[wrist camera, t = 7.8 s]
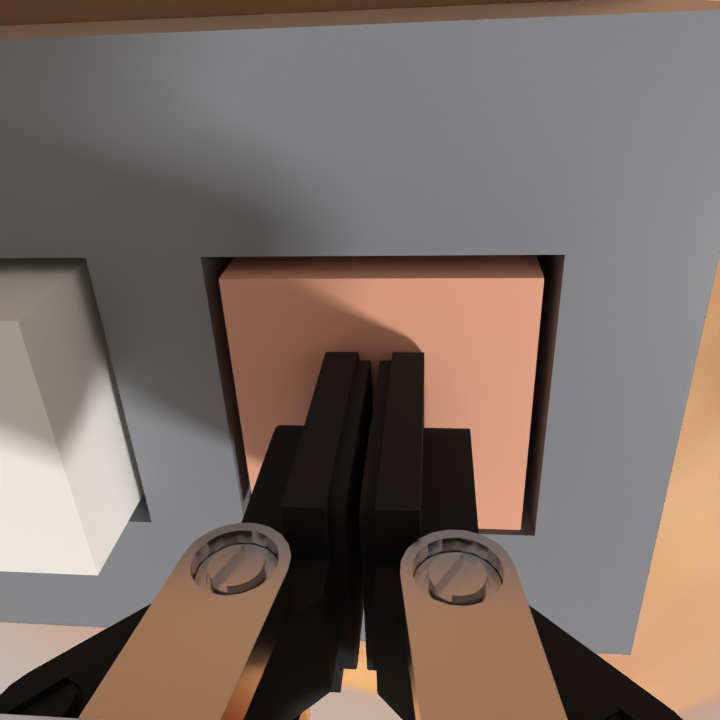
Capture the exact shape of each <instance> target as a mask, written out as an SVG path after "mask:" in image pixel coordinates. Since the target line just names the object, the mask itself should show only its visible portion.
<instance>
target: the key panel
mask: <svg viewBox="0 0 720 720" xmlns="http://www.w3.org/2000/svg"><path fill="white" fill-rule="evenodd" d="M432 255H536V256H537V259H538V262H539V264H540V267H541V270H542V273H543V276H544V287H543V298H542V308H541V319H540V329H539V340H538V351H537V361H536V372H535V383H534V393H533V404H532V415H531V425H530V436H529V447H528V457H527V468H526V479H525V489H524V500H523V511H522V521H521V530H506V529H478V531H479V534H481V535H483V536H485V537H487V538H489V539H491V540H493V541H495V542H497V543H498V544H499V545H500V546H501V547H502V548H503V549H504V550H505V551H506V552H508V554H509V556H510V557H511V559H512V561H513V563H514V565H515V567H516V570H517V573H518V576H519V579H520V581H521V584H522V587H523V590H524V593H525V596H526V599H527V602H528V605H530V606H531V607H533V608H534V609H535V610H537V611H538V612H539V613H541V614H542V615H543V616H545V617H546V618H548V619H549V620H550V621H552V622H553V623H554V624H556V625H557V626H558V627H560V628H561V629H563V630H564V631H565V632H567V633H568V634H569V635H571V636H572V637H573V638H575V639H576V640H577V641H579V642H580V643H582V644H583V645H584V646H586V647H587V648H588V649H590V650H591V651H592V652H594V653H602V654H621V655H631V650H632V646H633V641H634V637H635V632H636V628H637V623H638V619H639V614H640V610H641V605H642V601H643V596H644V592H645V587H646V583H647V578H648V574H649V569H650V565H651V560H652V556H653V551H654V547H655V542H656V538H657V533H658V529H659V524H660V520H661V515H662V511H663V507H664V502H665V498H666V493H667V489H668V484H669V480H670V475H671V471H672V466H673V462H674V457H675V453H676V448H677V444H678V439H679V435H680V430H681V426H682V421H683V417H684V412H685V408H686V403H687V399H688V394H689V390H690V385H691V381H692V376H693V372H694V367H695V363H696V358H697V354H698V349H699V345H700V340H701V336H702V331H703V327H704V323H705V318H706V314H707V309H708V305H709V300H710V296H711V291H712V287H713V282H714V278H715V273H716V269H717V264H718V260H719V255H720V2H718V1H708V0H574V1H551V2H528V3H505V4H482V5H460V6H437V7H414V8H391V9H368V10H346V11H323V12H300V13H277V14H254V15H231V16H209V17H186V18H163V19H140V20H117V21H94V22H72V23H49V24H26V25H3V26H0V258H86V262H87V266H88V270H89V273H90V277H91V281H92V285H93V289H94V293H95V297H96V301H97V305H98V309H99V313H100V317H101V321H102V325H103V329H104V333H105V337H106V341H107V345H108V349H109V353H110V357H111V361H112V365H113V369H114V373H115V377H116V381H117V385H118V389H119V393H120V397H121V401H122V405H123V409H124V413H125V417H126V421H127V425H128V429H129V433H130V437H131V441H132V445H133V449H134V453H135V457H136V461H137V465H138V469H139V473H140V477H141V481H142V485H143V489H144V494H143V496H142V498H141V499H140V501H139V503H138V505H137V507H136V508H135V510H134V512H133V514H132V515H131V517H130V519H129V521H128V523H127V524H126V526H125V528H124V530H123V531H122V533H121V535H120V537H119V539H118V540H117V542H116V544H115V546H114V548H113V549H112V551H111V553H110V555H109V556H108V558H107V560H106V562H105V564H104V565H103V567H102V569H101V571H100V573H99V574H98V576H97V575H75V574H52V573H29V572H6V571H0V622H8V623H9V622H10V623H27V624H46V625H65V626H84V627H104V628H108V627H110V626H112V625H114V624H116V623H117V622H119V621H121V620H123V619H124V618H126V617H128V616H130V615H132V614H133V613H135V612H137V611H139V610H140V609H142V608H144V607H146V606H147V605H149V604H151V603H152V602H153V601H154V599H155V598H156V596H157V594H158V593H159V591H160V590H161V588H162V587H163V585H164V584H165V582H166V580H167V579H168V577H169V576H170V574H171V573H172V571H173V569H174V568H175V566H176V565H177V563H178V562H179V560H180V559H181V557H182V555H183V554H184V552H185V551H186V550H187V549H188V548H189V547H190V546H191V544H192V543H193V542H194V541H195V540H197V539H198V538H200V537H201V536H203V535H204V534H206V533H207V532H209V531H212V530H214V529H217V528H219V527H221V526H225V525H230V524H235V523H241V522H242V520H243V517H244V514H245V511H246V508H247V505H248V503H249V500H250V497H251V487H250V480H249V474H248V467H247V461H246V454H245V448H244V441H243V435H242V428H241V422H240V415H239V409H238V402H237V396H236V389H235V383H234V376H233V370H232V363H231V356H230V350H229V343H228V337H227V330H226V324H225V317H224V311H223V304H222V298H221V291H220V285H219V278H220V276H221V275H222V274H223V272H224V271H225V269H226V268H227V266H228V265H229V264H230V262H231V261H232V259H233V258H234V257H275V256H432ZM360 641H366V637H365V619H364V610H363V619H362V628H361V637H360Z"/></svg>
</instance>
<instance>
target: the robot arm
mask: <svg viewBox="0 0 720 720" xmlns="http://www.w3.org/2000/svg"><path fill="white" fill-rule="evenodd" d="M363 610H364V619H365V637H366V655H367V669H368V670H377V691H378V695H379V696H380V697H381V698H382V699H383V700H385V702H386V703H387V704H388V705H389V706H390V707H391V708H392V709H393V710H394V711H395V712H396V713H397V714H398V715H399V716H400V717H401V718H402V719H403V720H683V719H682V718H680V717H679V716H678V715H677V714H676V713H675V712H674V711H673V710H671V709H670V708H669V707H667V706H666V705H665V704H663V703H662V702H661V701H659V700H658V699H656V698H655V697H654V696H652V695H651V694H650V693H648V692H647V691H646V690H644V689H643V688H641V687H640V686H639V685H637V684H636V683H635V682H633V681H632V680H631V679H629V678H628V677H627V676H625V675H624V674H622V673H621V672H620V671H618V670H617V669H616V668H614V667H613V666H612V665H610V664H609V663H607V662H606V661H605V660H603V659H602V658H601V657H599V656H598V655H597V654H595V653H594V652H592V651H591V650H590V649H588V648H587V647H586V646H584V645H583V644H582V643H580V642H579V641H577V640H576V639H575V638H573V637H572V636H571V635H569V634H568V633H567V632H565V631H564V630H563V629H561V628H560V627H558V626H557V625H556V624H554V623H553V622H552V621H550V620H549V619H548V618H546V617H545V616H543V615H542V614H541V613H539V612H538V611H537V610H535V609H534V608H533V607H531V606H530V605H528V602H527V599H526V596H525V593H524V590H523V587H522V584H521V581H520V579H519V576H518V573H517V570H516V567H515V565H514V563H513V561H512V559H511V557H510V556H509V554H508V552H506V551H505V550H504V549H503V548H502V547H501V546H500V545H499V544H498V543H497V542H495V541H493V540H491V539H489V538H487V537H485V536H483V535H481V534H479V531H478V519H477V506H476V494H475V481H474V469H473V456H472V444H471V432H470V428H424V352H393V353H392V361H383V360H380V363H379V370H378V377H377V384H376V391H375V398H374V405H373V400H372V374H371V361H370V360H359V353H358V352H326V353H325V356H324V359H323V363H322V366H321V369H320V373H319V376H318V380H317V383H316V387H315V390H314V393H313V397H312V400H311V404H310V407H309V411H308V414H307V417H306V421H305V424H304V425H278V426H276V428H275V430H274V432H273V435H272V438H271V441H270V443H269V446H268V449H267V452H266V455H265V458H264V460H263V463H262V466H261V469H260V472H259V474H258V477H257V480H256V483H255V486H254V489H253V491H252V494H251V497H250V500H249V503H248V505H247V508H246V511H245V514H244V517H243V520H242V522H241V523H235V524H230V525H225V526H221V527H219V528H217V529H214V530H212V531H209V532H207V533H206V534H204V535H203V536H201V537H200V538H198V539H197V540H195V541H194V542H193V543H192V544H191V546H190V547H189V548H188V549H187V550H186V551H185V552H184V554H183V555H182V557H181V559H180V560H179V562H178V563H177V565H176V566H175V568H174V569H173V571H172V573H171V574H170V576H169V577H168V579H167V580H166V582H165V584H164V585H163V587H162V588H161V590H160V591H159V593H158V594H157V596H156V598H155V599H154V601H153V602H152V603H151V604H149V605H147V606H146V607H144V608H142V609H140V610H139V611H137V612H135V613H133V614H132V615H130V616H128V617H126V618H124V619H123V620H121V621H119V622H117V623H116V624H114V625H112V626H110V627H108V628H107V629H105V630H103V631H101V632H100V633H98V634H96V635H94V636H92V637H91V638H89V639H87V640H85V641H84V642H82V643H80V644H78V645H77V646H75V647H73V648H71V649H69V650H68V651H66V652H64V653H63V654H61V655H59V656H57V657H55V658H54V659H52V660H50V661H48V662H46V663H45V664H43V665H41V666H39V667H37V668H36V669H34V670H32V671H30V672H29V673H27V674H26V675H24V676H23V677H21V678H20V679H18V680H17V681H16V682H14V683H13V684H11V685H10V686H9V687H8V688H7V689H6V690H5V691H4V692H3V693H2V694H0V720H310V707H311V706H312V705H313V704H315V703H316V702H317V701H319V700H320V699H321V698H323V697H324V696H325V695H327V694H328V693H329V692H341V684H342V677H343V669H356V668H357V663H358V655H359V646H360V637H361V628H362V619H363Z"/></svg>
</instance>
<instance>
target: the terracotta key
mask: <svg viewBox="0 0 720 720" xmlns="http://www.w3.org/2000/svg"><path fill="white" fill-rule="evenodd" d="M219 285H220V291H221V298H222V304H223V311H224V317H225V324H226V330H227V337H228V343H229V350H230V356H231V363H232V370H233V376H234V383H235V389H236V396H237V402H238V409H239V415H240V422H241V428H242V435H243V441H244V448H245V454H246V461H247V467H248V474H249V480H250V487H251V494H252V491H253V489H254V486H255V483H256V480H257V477H258V474H259V472H260V469H261V466H262V463H263V460H264V458H265V455H266V452H267V449H268V446H269V443H270V441H271V438H272V435H273V432H274V430H275V428H276V426H278V425H304V424H305V421H306V417H307V414H308V411H309V407H310V404H311V400H312V397H313V393H314V390H315V387H316V383H317V380H318V376H319V373H320V369H321V366H322V363H323V359H324V356H325V353H326V352H358V353H359V360H370V361H371V374H372V400H373V405H374V398H375V391H376V384H377V377H378V370H379V363H380V360H383V361H392V353H393V352H424V428H470V432H471V444H472V456H473V469H474V481H475V494H476V506H477V519H478V529H506V530H521V521H522V511H523V500H524V489H525V479H526V468H527V457H528V447H529V436H530V425H531V415H532V404H533V393H534V383H535V372H536V361H537V351H538V340H539V329H540V319H541V308H542V298H543V287H544V276H543V273H542V270H541V267H540V264H539V262H538V259H537V256H536V255H432V256H275V257H234V258H233V259H232V261H231V262H230V264H229V265H228V266H227V268H226V269H225V271H224V272H223V274H222V275H221V276H220V278H219Z"/></svg>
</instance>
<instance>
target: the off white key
mask: <svg viewBox="0 0 720 720" xmlns="http://www.w3.org/2000/svg"><path fill="white" fill-rule="evenodd" d="M143 494H144V489H143V485H142V481H141V477H140V473H139V469H138V465H137V461H136V457H135V453H134V449H133V445H132V441H131V437H130V433H129V429H128V425H127V421H126V417H125V413H124V409H123V405H122V401H121V397H120V393H119V389H118V385H117V381H116V377H115V373H114V369H113V365H112V361H111V357H110V353H109V349H108V345H107V341H106V337H105V333H104V329H103V325H102V321H101V317H100V313H99V309H98V305H97V301H96V297H95V293H94V289H93V285H92V281H91V277H90V273H89V270H88V266H87V262H86V258H0V571H6V572H29V573H52V574H75V575H97V576H98V574H99V573H100V571H101V569H102V567H103V565H104V564H105V562H106V560H107V558H108V556H109V555H110V553H111V551H112V549H113V548H114V546H115V544H116V542H117V540H118V539H119V537H120V535H121V533H122V531H123V530H124V528H125V526H126V524H127V523H128V521H129V519H130V517H131V515H132V514H133V512H134V510H135V508H136V507H137V505H138V503H139V501H140V499H141V498H142V496H143Z"/></svg>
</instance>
